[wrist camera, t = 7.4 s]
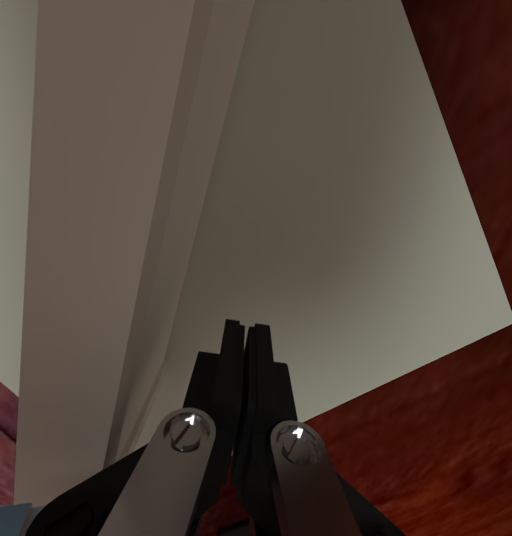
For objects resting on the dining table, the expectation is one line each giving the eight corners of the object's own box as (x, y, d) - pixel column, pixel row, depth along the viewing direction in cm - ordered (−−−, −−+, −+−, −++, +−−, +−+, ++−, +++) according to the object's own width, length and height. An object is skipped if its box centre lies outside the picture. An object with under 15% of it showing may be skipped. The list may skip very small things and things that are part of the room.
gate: (219, -43, 10) (82, -907, 2) (269, -22, 10) (337, -719, 2) (130, 375, 16) (9, 588, 8) (163, 383, 16) (77, 598, 8)
